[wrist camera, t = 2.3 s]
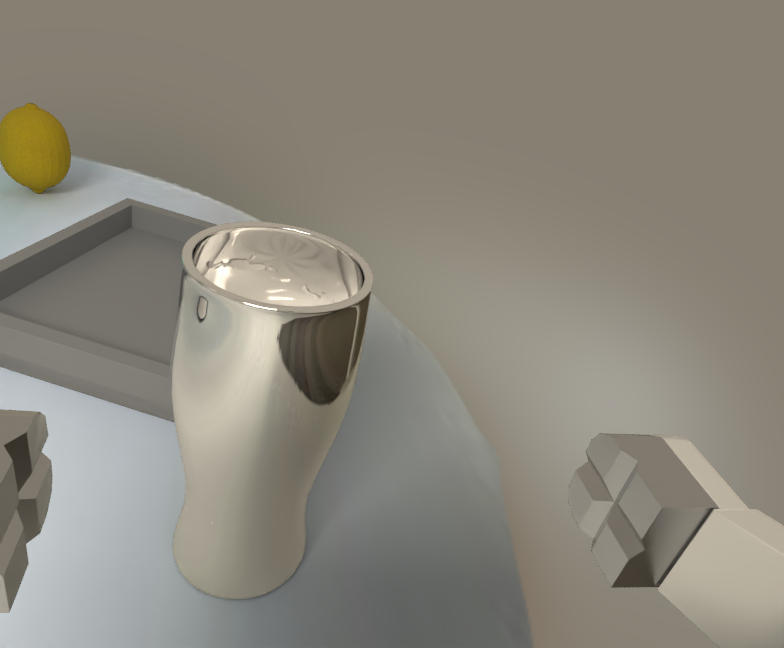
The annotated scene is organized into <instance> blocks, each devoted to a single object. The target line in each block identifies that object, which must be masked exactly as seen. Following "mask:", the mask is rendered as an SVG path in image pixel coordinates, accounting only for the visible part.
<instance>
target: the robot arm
mask: <svg viewBox="0 0 784 648" xmlns="http://www.w3.org/2000/svg"><path fill="white" fill-rule="evenodd" d="M47 437H48V431H47V424H46V418H45V415H43V414H42V413H41V412H33V411H16V410H0V613H7V612H10V610H11V607H12V605H13V602H14V600H15V597H16V594H17V592H18V589H19V587H20V584H21V582H22V579H23V576H24V574H25V571H26V569H27V566H28V564H29V563H28V556H27V548H26V544H27V543H28V542H29V541H30V540H32V539H33V538H34V537H36V536H37V535H38V534H39V533H40V532H41V529H42V526H43V524H44V521H45V518H46V515H47V511H48V507H49V502H50V497H51V492H52V465H51V460H50V459H49V458H47V457H46V456H45V455H44V454H43V453H42V452H41V451H42V449H43V447H44V444H45V442H46V440H47ZM586 454H587V457H588V460H589V461H588V462H587V463H585V464H584V465H583V466H582V467H580V468H579V469H577V470H576V471H575V473H574V475H573V478H572V480H571V482H570V484H569V506H570V509H571V513H572V516H573V518H574V520H575V521H576V524H577V526H578V527H579V528H580V529H581V530H582V531H584V532H585V533H586V534H587V535H589V536H590V537H591V538H592V539H593V544H592V549H591V552H592V553H593V555H594V557H595V559H596V561H597V562H598V564H599V566H600V568H601V570H602V572H603V573H604V575H605V577H606V579H607V581H608V583H609V584H610V586H611V587H659V588H658V589H657V590H658V591H659V592H660V593H661V594H662V595H663V596H665V597H666V598H667V599H668V600H669V601H670V602H671V603H672V604H673V605H674V606H675V607H676V608H677V609H679V610H680V611H681V612H682V613H683V614H684V615H685V616H686V617H687V618H688V619H689V620H690V621H691V622H692V623H694V624H695V625H696V626H697V627H698V628H699V629H700V630H701V631H702V632H703V633H704V634H705V635H706V636H708V637H709V638H710V639H711V640H712V641H713V642H714V643H715V644H716V645H717V646H718V647H719V648H784V526H783V525H781V524H780V523H778V522H777V521H775V520H773V519H772V518H770V517H768V516H767V515H765V514H763V513H762V512H760V511H759V510H757V509H748V508H747V506H746V505H745V504H744V503H743V502H742V501H741V499H740V498H739V497H738V496H737V495H736V494H735V493H734V491H733V490H732V489H731V488H730V487H729V486H728V484H727V483H726V482H725V481H724V480H723V479H722V478H721V476H719V474H718V473H717V472H716V471H715V470H714V468H713V467H712V466H711V465H710V464H709V463H708V461H707V460H706V459H705V458H704V457H703V456H702V455H701V454H700V452H699V451H698V450H697V449H696V448H695V446H693V444H692V443H691V442H690V441H689V440H687V439H686V438H684V437H682V436H680V435H635V434H601V433H600V434H598V435H597V436H596V437H594V438H593V439H592V440H591V442H590V444H589V446H588V448H587V449H586Z"/></svg>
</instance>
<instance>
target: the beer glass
mask: <svg viewBox="0 0 784 648" xmlns="http://www.w3.org/2000/svg"><path fill="white" fill-rule="evenodd" d="M181 257H182V264H181V272H180V279H179V285H178V291H177V297H176V305H175V312H174V319H173V328H172V340H171V352H170V389H171V398H172V406H173V415H174V421H175V427H176V432H177V437H178V443H179V448H180V453H181V458H182V463H183V468H184V474H185V481H186V493H185V500H184V504H183V507H182V510H181V513H180V515H179V518H178V521H177V524H176V528H175V531H174V536H173V554H174V558H175V562H176V564H177V567H178V569H179V570H180V572H181V573H182V575H183V576H184V577H185V579H186V580H187V581H188V582H189V583H191V584H192V585H193V586H194V587H196V588H197V589H199V590H201V591H203V592H205V593H207V594H209V595H212V596H215V597H220V598H225V599H248V598H253V597H257V596H261V595H264V594H266V593H269V592H271V591H273V590H274V589H276V588H278V587H279V586H281V585H282V584H283V583H285V582H286V581H287V580H288V579H289V578H290V577H291V576H292V575H293V573H294V572H295V571H296V569H297V568H298V566H299V564H300V562H301V560H302V558H303V555H304V551H305V545H306V520H305V508H306V502H307V498H308V495H309V492H310V490H311V487H312V485H313V483H314V481H315V478H316V476H317V474H318V472H319V470H320V468H321V466H322V464H323V462H324V460H325V458H326V456H327V454H328V452H329V450H330V448H331V446H332V444H333V442H334V440H335V438H336V436H337V433H338V431H339V428H340V426H341V423H342V421H343V419H344V416H345V414H346V411H347V409H348V406H349V402H350V399H351V395H352V392H353V388H354V385H355V382H356V378H357V373H358V368H359V363H360V359H361V354H362V348H363V342H364V335H365V329H366V322H367V314H368V307H369V300H370V294H371V289H372V287H373V274H372V271H371V269H370V267H369V265H368V264H367V262H366V261H365V260H364V259H363V258H362V257H361V256H360V255H359V254H358V253H356V252H355V251H354V250H352V249H351V248H349V247H348V246H346V245H344V244H343V243H341V242H339V241H337V240H335V239H333V238H330V237H328V236H325V235H323V234H320V233H317V232H314V231H311V230H308V229H304V228H300V227H295V226H290V225H284V224H278V223H269V222H235V223H227V224H222V225H217V226H213V227H210V228H207V229H205V230H202V231H200V232H198V233H197V234H195V235H194V236H192V237H191V238H190V239H189V240H188V241H187V242H186V243H185V245H184V247H183V250H182V255H181Z"/></svg>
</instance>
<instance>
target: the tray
mask: <svg viewBox="0 0 784 648" xmlns="http://www.w3.org/2000/svg"><path fill="white" fill-rule="evenodd" d="M213 226H217V225H216V224H212V223H209V222H205V221H202V220H199V219H195V218H192V217H189V216H185V215H182V214H179V213H175V212H172V211H169V210H165V209H162V208H159V207H155V206H152V205H149V204H145V203H142V202H138V201H135V200H132V199H128V198H127V199H125V200H123V201H121V202H119V203H117V204H114V205H112V206H110V207H108V208H106V209H104V210H102V211H100V212H98V213H96V214H94V215H92V216H90V217H88V218H86V219H84V220H82V221H80V222H78V223H75V224H73V225H71V226H69V227H67V228H65V229H63V230H61V231H59V232H57V233H55V234H53V235H51V236H49V237H47V238H45V239H43V240H41V241H38V242H36V243H34V244H32V245H30V246H28V247H26V248H24V249H22V250H20V251H18V252H16V253H14V254H12V255H10V256H8V257H6V258H4V259H1V260H0V367H3V368H7V369H10V370H13V371H16V372H19V373H22V374H25V375H28V376H32V377H35V378H38V379H41V380H44V381H47V382H50V383H53V384H57V385H60V386H63V387H66V388H69V389H72V390H75V391H78V392H82V393H85V394H88V395H91V396H94V397H97V398H100V399H104V400H107V401H110V402H113V403H116V404H119V405H122V406H125V407H129V408H132V409H135V410H138V411H141V412H144V413H147V414H150V415H154V416H157V417H160V418H163V419H166V420H169V421H172V422H175V421H174V415H173V406H172V398H171V389H170V352H171V340H172V328H173V319H174V312H175V305H176V297H177V291H178V285H179V279H180V272H181V264H182V257H181V255H182V250H183V247H184V245H185V243H186V242H187V241H188V240H189V239H190V238H191V237H192V236H194V235H195V234H197V233H198V232H200V231H202V230H205V229H207V228H210V227H213Z"/></svg>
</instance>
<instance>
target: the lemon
mask: <svg viewBox="0 0 784 648" xmlns="http://www.w3.org/2000/svg"><path fill="white" fill-rule="evenodd" d="M0 161H1V163H2V166H3V168H4V169H5V171H6V172H7V173H8V175H9V176H10V177H11V178H13V179H14V180H15V181H16V182H18V183H20V184H22V185H24V186H27V187H29V188H30V189H31V190H33V191H34V192H35V193H42V192H43V191H45V190H46V189H47V188H49V187H52V186H55V185H56V184H58V183H60V182H61V181H62V180H63V179H64V177H65V176H66V174H67V173H68V170H69V167H70V161H71V153H70V145H69V141H68V137H67V134H66V132H65V129H64V128H63V126H62V125H61V123H60V122H59V121H58V120H57V119H56V118H55V117H54V116H53V115H51V114H50V113H49V112H47V111H45V110H43V109H40V108H38V106H37V105H36V104H33V103H27V104H26V105H25V106H24V107H20V108H16V109H14V110H12V111H11V112H9V113H8V114H7V115H6V116H5V117H4V119H3V120H2V121H1V124H0Z"/></svg>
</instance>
